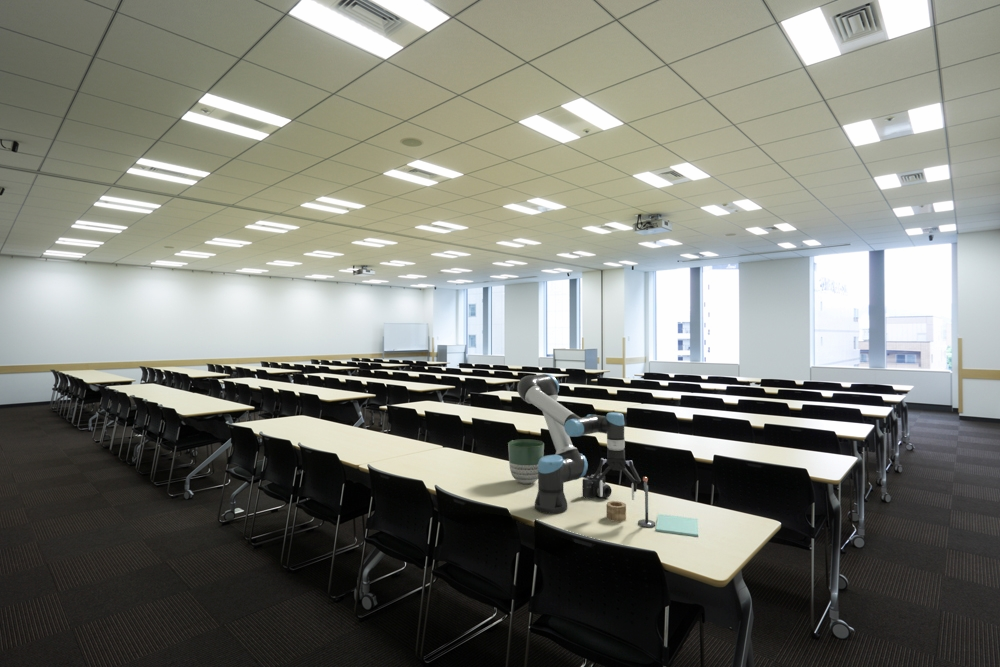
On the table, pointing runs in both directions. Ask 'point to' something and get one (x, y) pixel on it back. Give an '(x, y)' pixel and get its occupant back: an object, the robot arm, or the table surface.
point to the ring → (616, 511)
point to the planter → (525, 459)
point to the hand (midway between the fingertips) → (617, 497)
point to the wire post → (646, 508)
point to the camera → (594, 487)
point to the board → (677, 525)
